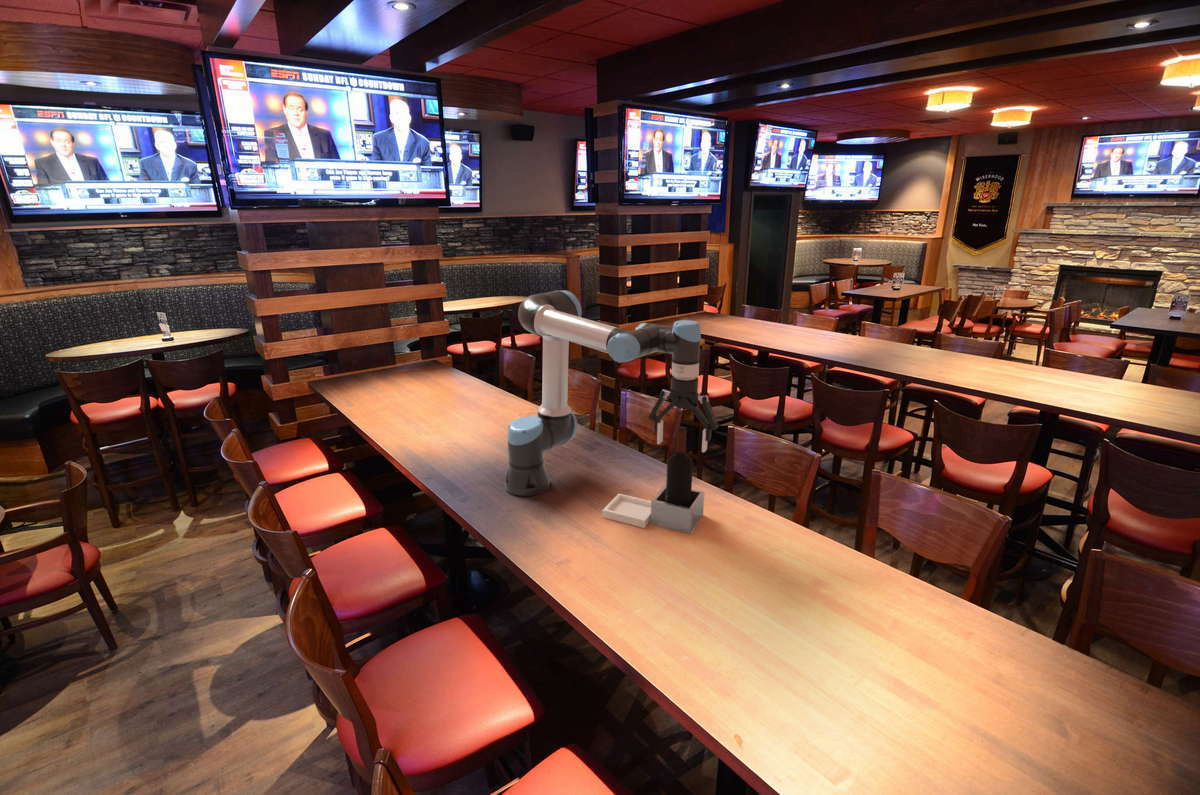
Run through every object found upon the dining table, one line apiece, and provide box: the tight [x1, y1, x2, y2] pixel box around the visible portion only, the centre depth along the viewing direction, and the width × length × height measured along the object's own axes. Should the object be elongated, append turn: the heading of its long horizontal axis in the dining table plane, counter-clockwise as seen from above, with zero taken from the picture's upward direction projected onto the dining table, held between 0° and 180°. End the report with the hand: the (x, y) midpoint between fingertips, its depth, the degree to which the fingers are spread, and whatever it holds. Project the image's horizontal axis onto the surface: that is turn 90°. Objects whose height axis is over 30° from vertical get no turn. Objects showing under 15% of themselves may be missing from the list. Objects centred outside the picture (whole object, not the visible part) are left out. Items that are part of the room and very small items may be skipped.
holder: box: [649, 483, 705, 535], centre depth 175 cm, size 12×12×8 cm
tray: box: [601, 493, 651, 529], centre depth 179 cm, size 14×12×2 cm
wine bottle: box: [665, 426, 694, 508], centre depth 171 cm, size 8×8×30 cm
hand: (681, 446), depth 168 cm, fingers open, 13 cm apart
